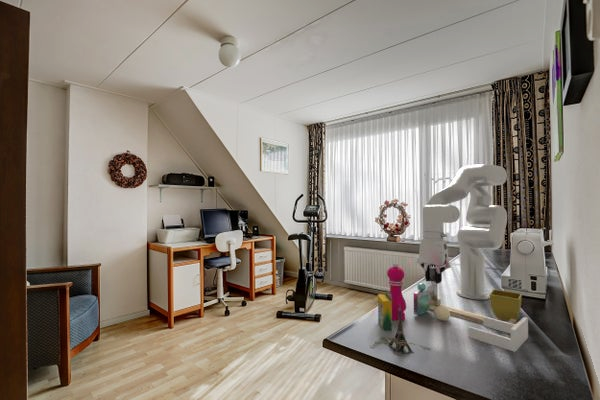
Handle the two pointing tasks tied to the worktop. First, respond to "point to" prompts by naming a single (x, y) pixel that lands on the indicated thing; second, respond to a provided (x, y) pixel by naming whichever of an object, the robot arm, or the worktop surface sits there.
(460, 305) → the worktop surface
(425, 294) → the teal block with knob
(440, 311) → the ball
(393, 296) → the pepper mill
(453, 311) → the oak rail
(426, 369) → the worktop surface
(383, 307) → the crayon box
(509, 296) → the flower pot
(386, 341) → the eiffel tower figurine
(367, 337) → the worktop surface
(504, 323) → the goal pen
